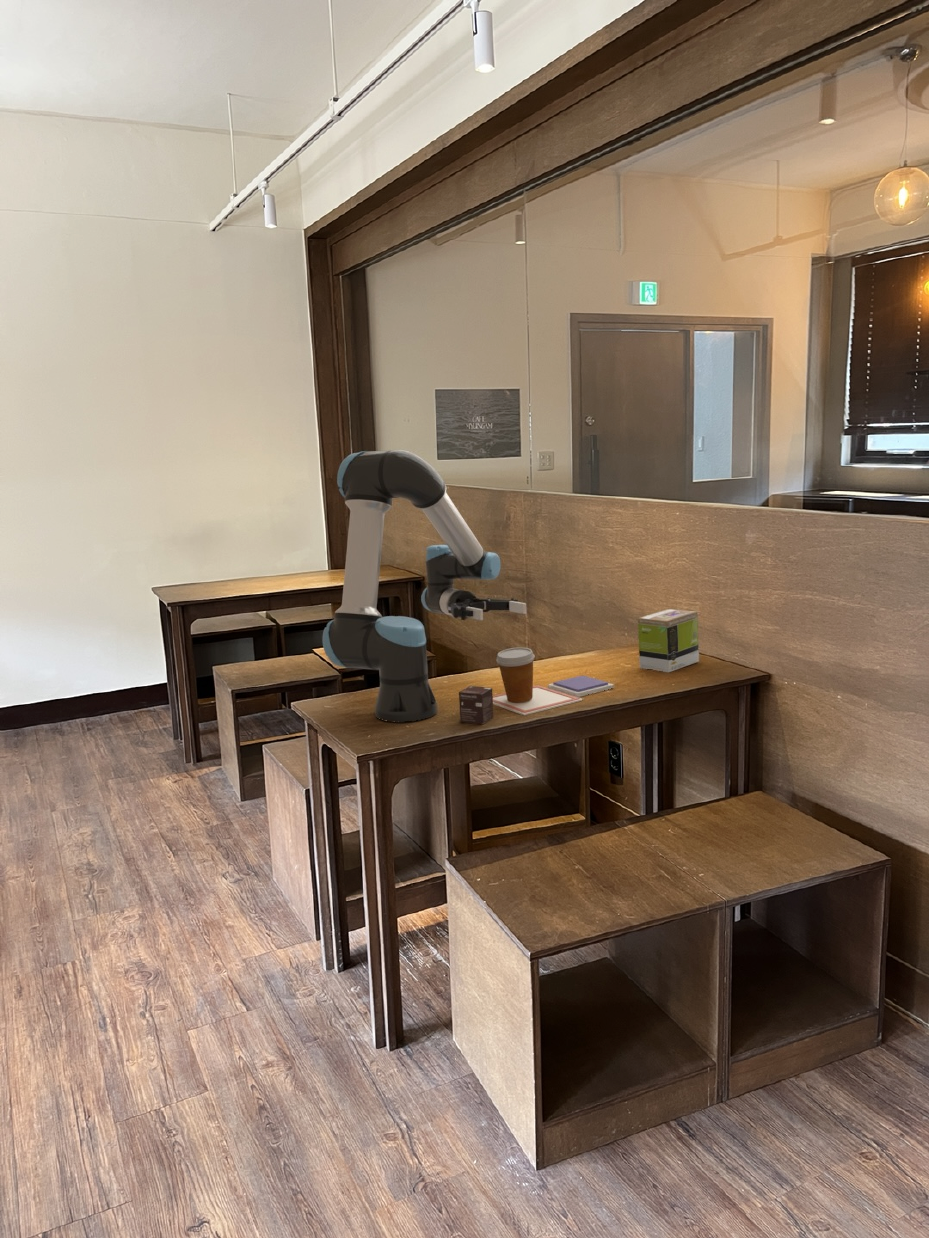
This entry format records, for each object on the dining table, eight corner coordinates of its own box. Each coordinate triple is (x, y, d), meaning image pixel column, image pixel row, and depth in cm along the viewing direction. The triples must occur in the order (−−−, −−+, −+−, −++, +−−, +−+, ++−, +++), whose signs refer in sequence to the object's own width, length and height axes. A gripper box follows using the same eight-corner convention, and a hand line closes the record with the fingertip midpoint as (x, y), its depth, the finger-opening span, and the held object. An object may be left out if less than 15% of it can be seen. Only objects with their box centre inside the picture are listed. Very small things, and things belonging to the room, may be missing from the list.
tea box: (669, 658, 255) (668, 607, 252) (699, 662, 247) (699, 611, 245) (638, 668, 245) (637, 616, 242) (668, 673, 238) (667, 620, 235)
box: (459, 722, 205) (457, 692, 204) (471, 715, 210) (469, 685, 209) (483, 724, 202) (481, 694, 201) (494, 717, 208) (492, 687, 206)
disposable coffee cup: (514, 708, 213) (509, 661, 210) (493, 699, 221) (488, 653, 218) (546, 697, 217) (541, 651, 214) (525, 689, 225) (520, 644, 223)
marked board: (524, 715, 207) (523, 713, 207) (481, 700, 222) (481, 697, 222) (582, 700, 217) (582, 698, 217) (538, 686, 232) (537, 684, 232)
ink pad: (577, 697, 220) (577, 691, 220) (548, 688, 230) (547, 682, 230) (613, 688, 226) (613, 682, 226) (583, 679, 236) (583, 673, 236)
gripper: (496, 611, 250) (542, 620, 232) (420, 622, 237) (463, 632, 219) (495, 585, 249) (541, 592, 231) (419, 594, 236) (462, 602, 218)
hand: (503, 611), depth 225 cm, fingers open, 13 cm apart
